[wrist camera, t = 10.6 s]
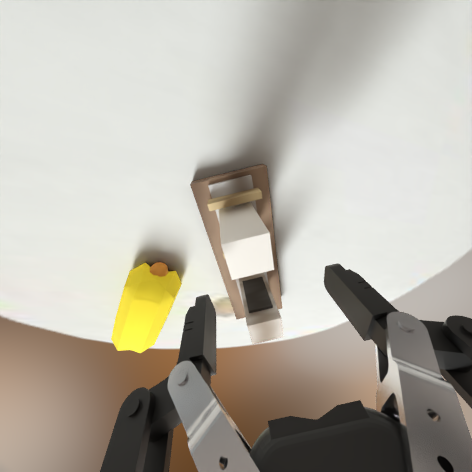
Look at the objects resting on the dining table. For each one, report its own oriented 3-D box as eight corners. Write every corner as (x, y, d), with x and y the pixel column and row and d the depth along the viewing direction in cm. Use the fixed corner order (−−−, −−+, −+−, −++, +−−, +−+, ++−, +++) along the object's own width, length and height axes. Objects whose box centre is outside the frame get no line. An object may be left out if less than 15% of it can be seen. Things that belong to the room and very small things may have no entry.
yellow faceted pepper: (119, 322, 32) (160, 328, 34) (97, 362, 26) (149, 366, 28) (138, 249, 25) (188, 264, 27) (115, 281, 19) (181, 296, 21)
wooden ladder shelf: (262, 164, 21) (300, 180, 11) (278, 299, 34) (303, 358, 24) (192, 181, 21) (174, 211, 12) (235, 310, 34) (243, 372, 24)
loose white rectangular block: (250, 202, 20) (269, 232, 13) (255, 233, 22) (274, 273, 15) (218, 209, 20) (221, 244, 13) (227, 240, 22) (233, 283, 16)
